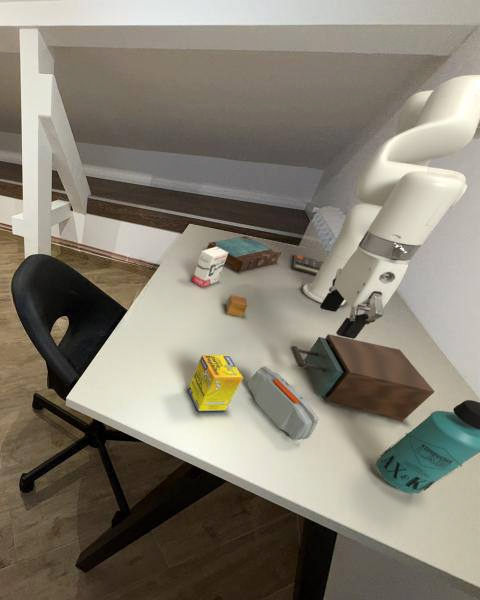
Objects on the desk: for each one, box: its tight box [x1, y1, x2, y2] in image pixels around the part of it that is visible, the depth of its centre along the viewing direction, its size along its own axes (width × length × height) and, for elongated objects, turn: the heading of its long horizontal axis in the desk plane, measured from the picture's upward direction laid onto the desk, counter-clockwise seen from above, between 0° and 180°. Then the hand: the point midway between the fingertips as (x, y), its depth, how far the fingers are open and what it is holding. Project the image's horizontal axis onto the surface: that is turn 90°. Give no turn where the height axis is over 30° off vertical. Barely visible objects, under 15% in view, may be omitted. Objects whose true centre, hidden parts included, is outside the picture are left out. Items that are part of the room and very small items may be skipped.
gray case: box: [247, 366, 320, 441], centre depth 62 cm, size 14×3×8 cm, turn 17°
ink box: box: [191, 247, 228, 288], centre depth 106 cm, size 8×5×12 cm, turn 123°
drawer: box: [290, 336, 346, 397], centre depth 70 cm, size 19×11×8 cm, turn 74°
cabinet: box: [322, 333, 435, 422], centre depth 69 cm, size 15×13×10 cm
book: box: [206, 235, 282, 273], centre depth 127 cm, size 23×18×5 cm
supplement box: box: [187, 354, 244, 414], centre depth 63 cm, size 6×6×11 cm
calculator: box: [292, 254, 324, 276], centre depth 126 cm, size 12×1×15 cm
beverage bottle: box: [375, 399, 480, 495], centre depth 49 cm, size 6×7×20 cm
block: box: [225, 293, 248, 318], centre depth 94 cm, size 4×4×4 cm
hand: (335, 322), depth 65 cm, fingers open, 9 cm apart
